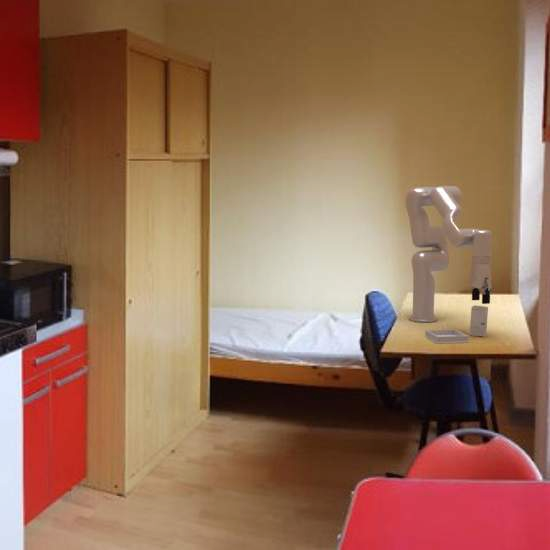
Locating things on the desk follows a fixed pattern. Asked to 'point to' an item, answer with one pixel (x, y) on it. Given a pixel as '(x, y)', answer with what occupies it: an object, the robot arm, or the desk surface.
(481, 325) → the skincare box
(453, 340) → the holder
